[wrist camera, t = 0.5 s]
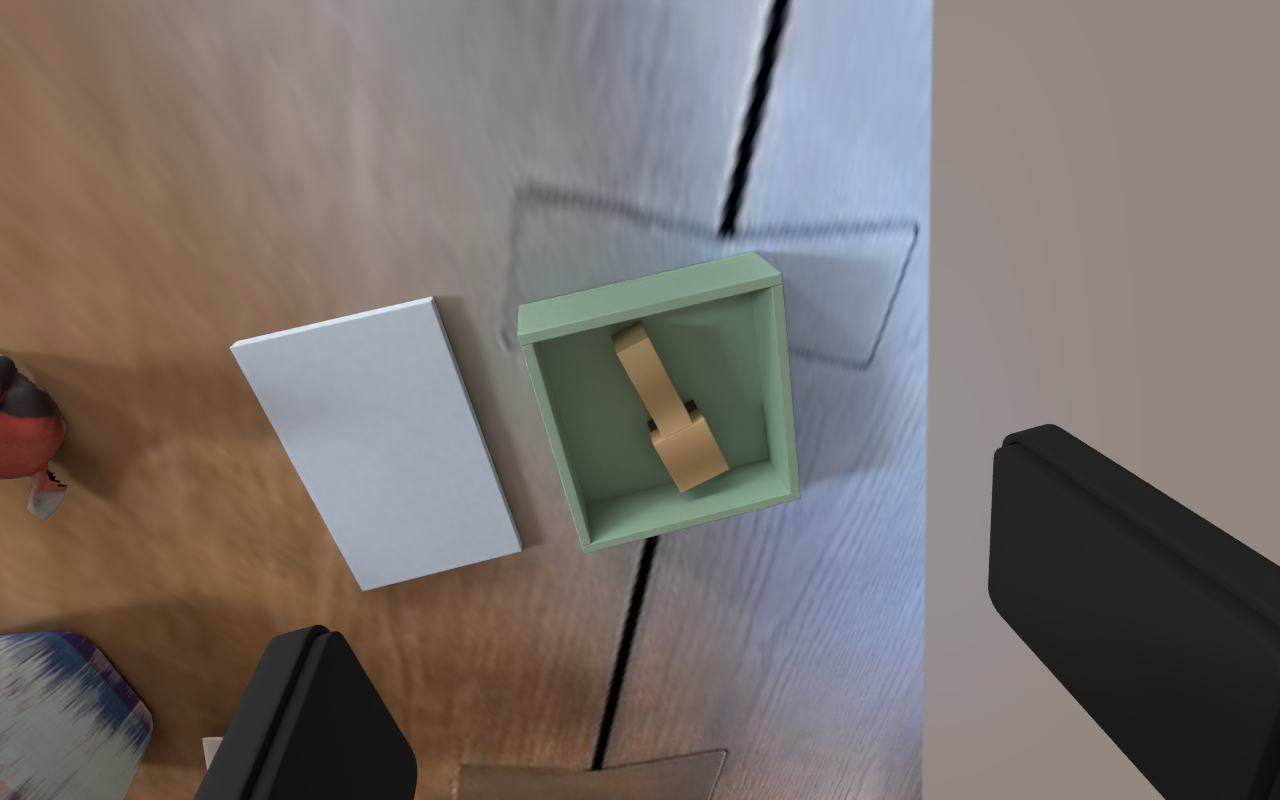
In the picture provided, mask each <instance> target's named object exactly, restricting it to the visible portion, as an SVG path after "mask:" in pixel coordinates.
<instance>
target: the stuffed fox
mask: <svg viewBox="0 0 1280 800" xmlns="http://www.w3.org/2000/svg"><path fill="white" fill-rule="evenodd" d="M66 429H67V427H66V424H65V421H64V419H63V417H62V418H61V416H60V414H59V411H58V408H57V405H56V403H55V404H54V401H52V399H51V397H50V396H49V394H48V393H47V392H46V391H45V390H44V388H42V387H40V386H36V385H34V383H32V382H30V381H29V380H28V378H27V377H25V376H24V375H22V374H20V373H17V368H15V365H14V362H13V361H12V360H11V359H10V358H8V357H6V356H3V355H2V354H0V479H13V478H19V477H23V476H31V477H32V479H33V481H32V487H31V492H30V496H29V504H28V507H27V509H28V510H29V512H31V513H32V514H34V515H36V516H38V517H41V518H44V519H47V518H48V517H49V516H50V515H51V514H52V513H53V511H54V510H55V508H56V507H57V506H58V505H59V504H60V503H61V501H62V500H63V498H64V495H65V492H66V488H67V486H66V485H61V484H59V483H60V481H58V480H55V478H56V476H53V474H54V473H50V470H48V469H47V468H48V465H47V464H48V461H49V460H50V459H51V458H52V457H53V455H54V454H55V453H56V452H57V451H58V449H59V448H60V447H61V442H62V441H63V440H65V437H64V434H65V430H66Z"/></svg>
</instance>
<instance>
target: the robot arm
mask: <svg viewBox="0 0 1280 800" xmlns="http://www.w3.org/2000/svg"><path fill="white" fill-rule="evenodd" d="M993 463H994V464H993V485H992V509H991V532H990V557H989V579H988V591H989V595H990V598H991V601H992V603H993V605H994V607H995V609H996V610H997V612H998V613H999V614H1000V615H1001V617H1002V618H1003V619H1004V620H1005V621H1006V622H1007V623H1008V624H1009V625H1010V627H1011V628H1012V629H1013V630H1014V631H1015V632H1016V633H1017V634H1018V636H1019V637H1020V638H1021V639H1022V640H1023V641H1024V642H1025V643H1026V644H1027V645H1028V647H1029V648H1030V649H1031V650H1032V651H1033V652H1034V653H1035V655H1036V656H1037V657H1038V658H1039V659H1040V660H1041V661H1042V662H1043V663H1044V665H1045V666H1046V667H1047V668H1048V669H1049V670H1050V671H1051V672H1052V674H1054V676H1055V677H1056V678H1057V679H1058V680H1059V681H1060V682H1061V683H1062V684H1063V686H1064V687H1065V688H1066V689H1067V690H1068V691H1069V692H1070V694H1072V696H1073V697H1074V698H1075V699H1076V700H1077V701H1078V703H1079V704H1080V705H1081V706H1082V707H1083V708H1084V709H1085V710H1086V711H1087V713H1088V714H1089V715H1090V716H1091V717H1092V718H1093V719H1094V720H1095V722H1096V723H1097V724H1098V725H1099V726H1100V727H1101V728H1102V729H1103V730H1104V732H1105V733H1106V734H1107V735H1108V736H1109V737H1110V738H1111V739H1112V741H1113V742H1114V743H1115V744H1116V745H1117V746H1118V747H1119V748H1120V749H1121V751H1122V752H1123V753H1124V754H1125V755H1126V756H1127V757H1128V758H1129V760H1130V761H1131V762H1132V763H1133V764H1134V765H1135V766H1136V767H1137V768H1138V770H1139V771H1140V772H1141V773H1142V774H1143V775H1144V776H1145V777H1146V779H1147V780H1148V781H1149V782H1150V783H1151V784H1152V785H1153V786H1154V787H1155V789H1156V790H1157V791H1158V792H1159V793H1160V794H1161V795H1162V796H1163V797H1164V799H1165V800H1280V566H1278V565H1276V564H1275V563H1273V562H1272V561H1270V560H1268V559H1267V558H1265V557H1264V556H1262V555H1261V554H1259V553H1257V552H1256V551H1254V550H1253V549H1251V548H1250V547H1248V546H1246V545H1245V544H1243V543H1241V542H1240V541H1239V540H1237V539H1235V538H1233V537H1232V536H1231V535H1229V534H1228V533H1226V532H1224V531H1223V530H1221V529H1220V528H1218V527H1216V526H1215V525H1213V524H1212V523H1210V522H1209V521H1207V520H1205V519H1204V518H1202V517H1201V516H1199V515H1197V514H1196V513H1194V512H1193V511H1191V510H1190V509H1188V508H1186V507H1185V506H1183V505H1182V504H1180V503H1179V502H1177V501H1175V500H1174V499H1172V498H1170V497H1169V496H1167V495H1166V494H1164V493H1163V492H1161V491H1160V490H1158V489H1156V488H1155V487H1153V486H1152V485H1150V484H1149V483H1147V482H1145V481H1144V480H1142V479H1141V478H1139V477H1138V476H1136V475H1134V474H1133V473H1131V472H1130V471H1128V470H1126V469H1125V468H1123V467H1122V466H1120V465H1119V464H1117V463H1115V462H1114V461H1112V460H1111V459H1109V458H1108V457H1106V456H1104V455H1103V454H1101V453H1100V452H1098V451H1096V450H1095V449H1093V448H1092V447H1090V446H1088V445H1087V444H1085V443H1084V442H1082V441H1081V440H1079V439H1078V438H1076V437H1074V436H1072V435H1071V434H1070V433H1068V432H1066V431H1065V430H1063V429H1061V428H1060V427H1058V426H1056V425H1053V424H1046V425H1042V426H1038V427H1034V428H1031V429H1027V430H1024V431H1020V432H1016V433H1012V434H1010V435H1008V436H1006V437H1005V439H1004V441H1003V444H1002V447H1001V448H999V449H997V450H996V452H995V454H994V462H993ZM416 783H417V763H416V759H415V755H414V753H413V750H412V749H411V747H410V745H409V744H408V742H407V740H406V739H405V737H404V735H403V734H402V732H401V731H400V729H399V727H398V726H397V724H396V722H395V721H394V719H393V717H392V716H391V714H390V712H389V711H388V709H387V707H386V706H385V704H384V702H383V701H382V699H381V697H380V696H379V694H378V692H377V691H376V689H375V687H374V686H373V684H372V682H371V681H370V679H369V677H368V676H367V674H366V672H365V671H364V669H363V668H362V666H361V664H360V663H359V661H358V659H357V658H356V656H355V654H354V653H353V651H352V649H351V648H350V646H349V644H348V643H347V641H346V639H345V638H344V636H343V635H342V634H341V633H340V632H338V631H334V632H330V631H329V630H328V629H327V628H326V627H325V626H323V625H314V626H311V627H307V628H304V629H300V630H296V631H293V632H289V633H285V634H282V635H278V636H276V637H275V638H273V639H272V640H271V641H270V643H269V644H268V646H267V648H266V650H265V652H264V654H263V656H262V658H261V660H260V662H259V665H258V667H257V669H256V671H255V673H254V675H253V677H252V679H251V681H250V683H249V685H248V687H247V689H246V692H245V694H244V696H243V698H242V700H241V702H240V704H239V706H238V708H237V710H236V712H235V714H234V716H233V719H232V721H231V723H230V725H229V727H228V729H227V731H226V733H225V735H224V737H223V739H222V741H221V743H220V745H219V748H218V750H217V752H216V754H215V756H214V758H213V760H212V762H211V764H210V766H209V768H208V770H207V772H206V775H205V777H204V779H203V781H202V783H201V785H200V787H199V789H198V791H197V793H196V795H195V797H194V799H193V800H414V795H415V789H416Z"/></svg>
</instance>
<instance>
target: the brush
mask: <svg viewBox="0 0 1280 800" xmlns="http://www.w3.org/2000/svg"><path fill="white" fill-rule="evenodd" d="M611 338H612V341H613V344H614V347H615V350H616V353H617V356H618V357H619V359H620V361H621V363H622V365H623V366H624V368H625V370H626V372H627V374H628V375H629V377H630V379H631V381H632V383H633V384H634V386H635V388H636V390H637V392H638V393H639V395H640V397H641V399H642V401H643V402H644V404H645V406H646V408H647V410H648V411H649V413H650V415H651V417H652V419H653V420H651V421H649V422H647V423H648V426H649V429H650V437H651V440H652V443H653V445H654V447H655V449H656V451H657V452H658V454H659V456H660V458H661V459H662V461H663V463H664V465H665V466H666V468H667V470H668V472H669V473H670V475H671V477H672V479H673V480H674V482H675V484H676V486H677V487H678V489H679V491H680V492H681V493H682V492H684V491H686V490H688V489H690V488H692V487H694V486H697V485H699V484H701V483H703V482H705V481H707V480H709V479H711V478H713V477H715V476H717V475H719V474H721V473H723V472H725V471H727V470H729V469H730V468H729V466H728V464H727V462H726V460H725V458H724V456H723V454H722V452H721V450H720V448H719V446H718V444H717V442H716V440H715V438H714V436H713V434H712V432H711V430H710V428H709V426H708V424H707V422H706V420H705V418H704V416H703V414H702V412H701V410H700V409H699V408H697V406H696V404H695V402H694V400H693V399H692V400H690V401H688V402H687V403H685V404H684V402H683V401H682V399H681V397H680V395H679V393H678V391H677V389H676V387H675V385H674V383H673V381H672V379H671V377H670V375H669V373H668V372H667V370H666V368H665V366H664V364H663V362H662V360H661V358H660V356H659V354H658V352H657V350H656V348H655V346H654V344H653V342H652V341H651V339H650V337H649V335H648V333H647V331H646V329H645V327H644V325H643V323H642V321H639V322H637V323H635V324H633V325H632V326H630V327H628V328H626V329H624V330H622V331H620V332H618V333H616V334H614V335H612V336H611Z"/></svg>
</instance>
